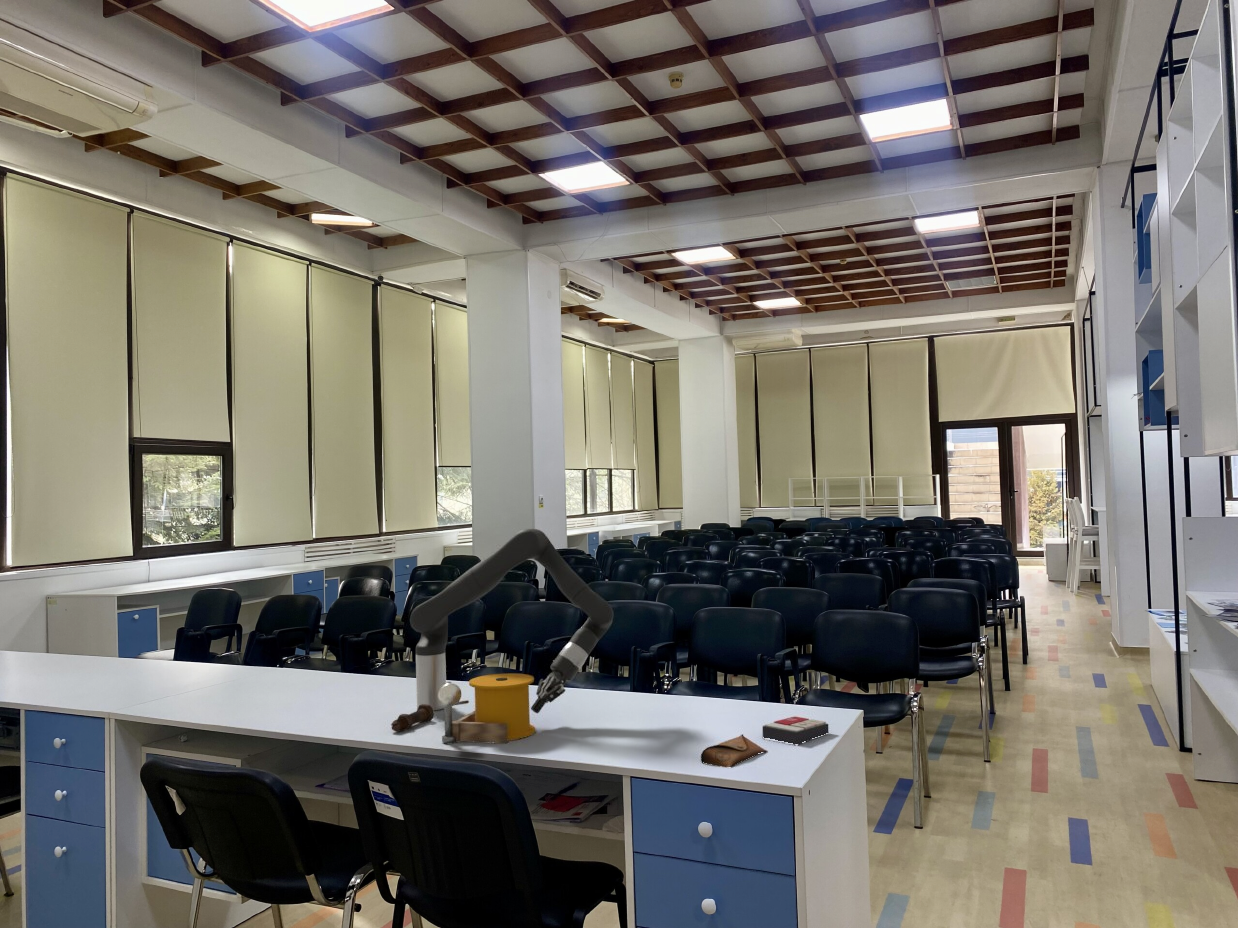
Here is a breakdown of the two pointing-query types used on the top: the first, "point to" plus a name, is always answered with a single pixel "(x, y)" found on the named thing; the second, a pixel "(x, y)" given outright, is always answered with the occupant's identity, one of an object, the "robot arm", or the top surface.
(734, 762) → the sunglasses case
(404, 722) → the bolt
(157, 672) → the top surface
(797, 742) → the dark grey box
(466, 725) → the wooden v-shaped bracket
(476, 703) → the spool
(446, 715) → the metal faucet
